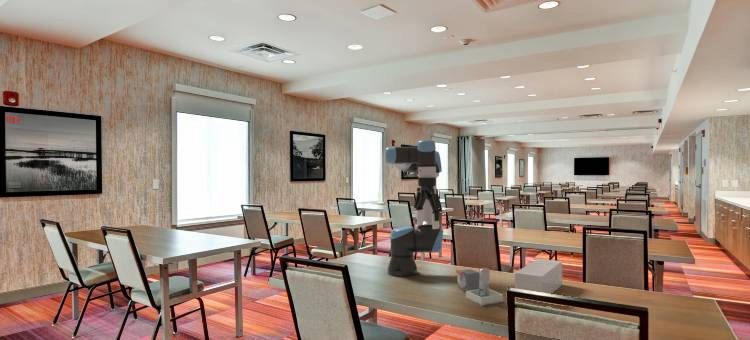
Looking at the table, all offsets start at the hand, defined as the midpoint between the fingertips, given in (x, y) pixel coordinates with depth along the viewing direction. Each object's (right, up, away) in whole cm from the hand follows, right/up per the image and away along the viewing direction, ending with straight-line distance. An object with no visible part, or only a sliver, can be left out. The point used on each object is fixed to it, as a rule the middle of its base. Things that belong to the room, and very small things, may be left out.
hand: (427, 226), depth 185 cm
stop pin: (+22, -28, -9) cm, 36 cm away
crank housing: (+18, -28, +5) cm, 34 cm away
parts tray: (+22, -28, -9) cm, 37 cm away
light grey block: (+49, -28, +2) cm, 56 cm away
